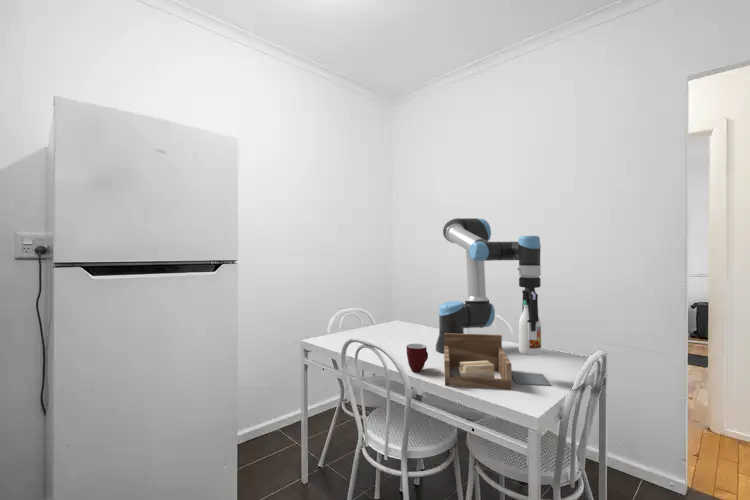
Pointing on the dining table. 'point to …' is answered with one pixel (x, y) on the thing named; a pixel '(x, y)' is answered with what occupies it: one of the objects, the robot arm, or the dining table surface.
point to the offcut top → (476, 366)
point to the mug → (417, 356)
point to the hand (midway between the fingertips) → (530, 337)
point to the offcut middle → (476, 374)
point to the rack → (476, 359)
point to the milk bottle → (524, 343)
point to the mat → (530, 379)
